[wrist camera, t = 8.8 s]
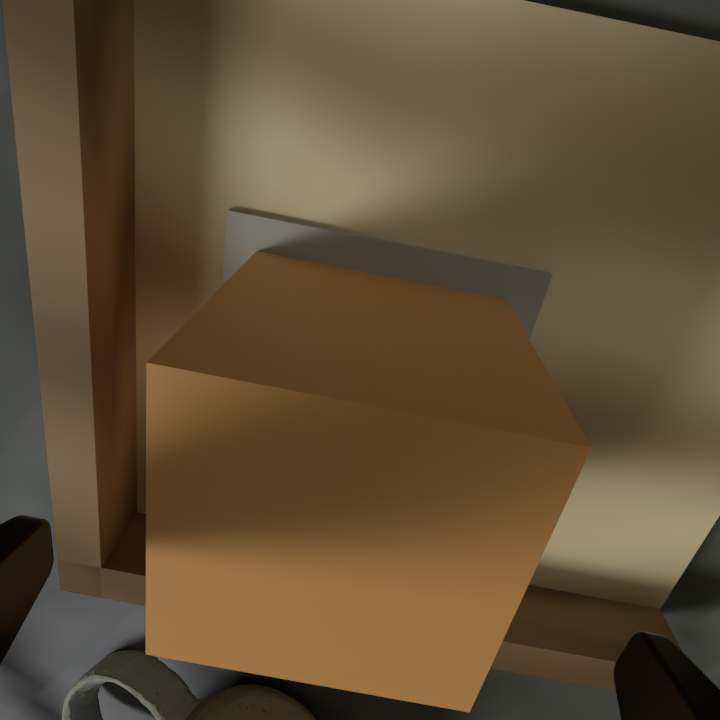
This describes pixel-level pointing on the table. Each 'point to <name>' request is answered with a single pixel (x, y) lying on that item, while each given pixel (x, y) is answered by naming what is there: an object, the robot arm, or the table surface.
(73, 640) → the table surface
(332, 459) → the cube
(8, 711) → the table surface
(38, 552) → the robot arm
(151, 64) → the arena
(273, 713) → the ceramic mug
